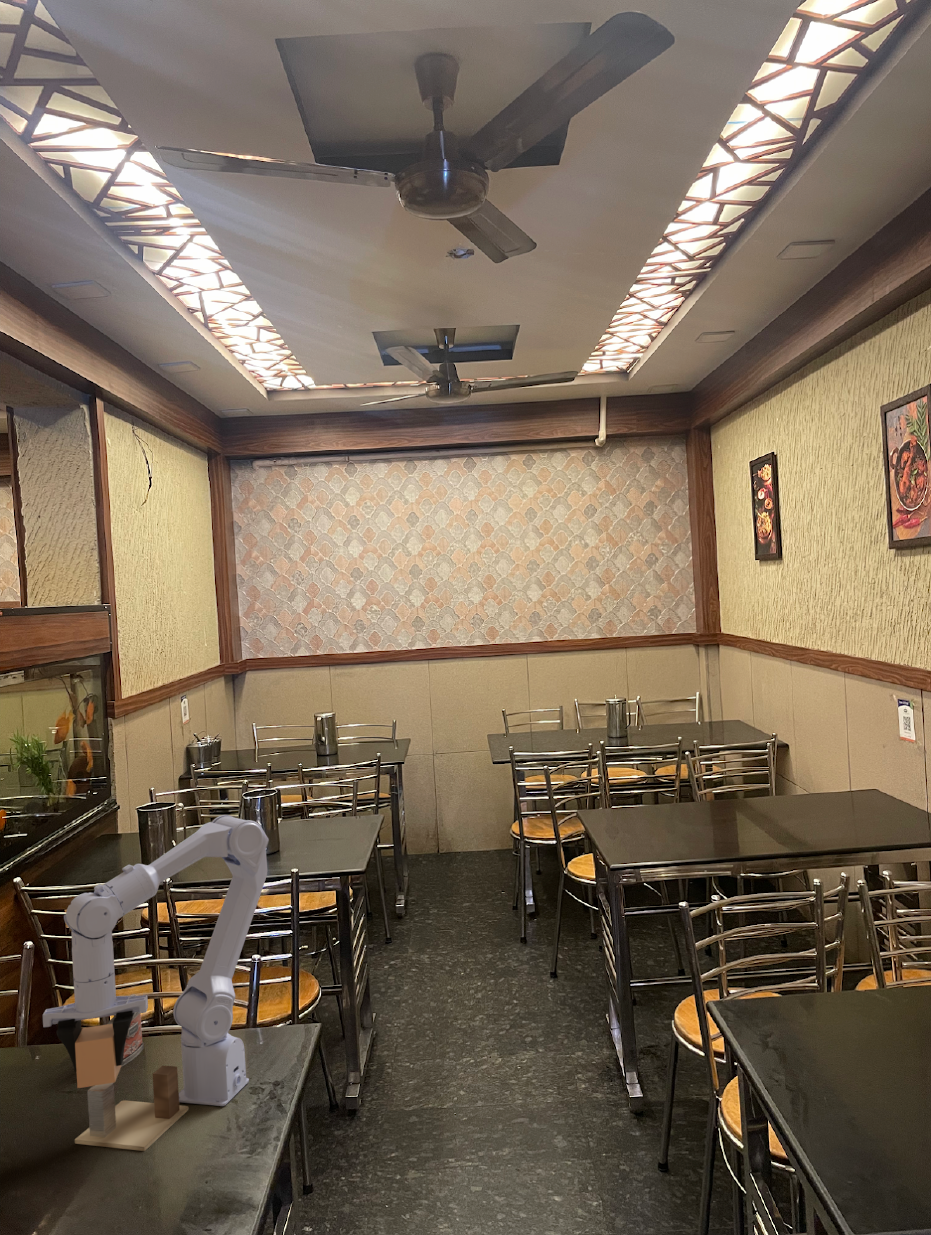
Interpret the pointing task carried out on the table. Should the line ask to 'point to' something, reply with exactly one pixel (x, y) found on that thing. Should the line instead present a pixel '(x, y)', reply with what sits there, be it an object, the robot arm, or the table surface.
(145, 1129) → the board
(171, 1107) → the post
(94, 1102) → the post
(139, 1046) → the lighter
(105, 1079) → the tan rectangular block
